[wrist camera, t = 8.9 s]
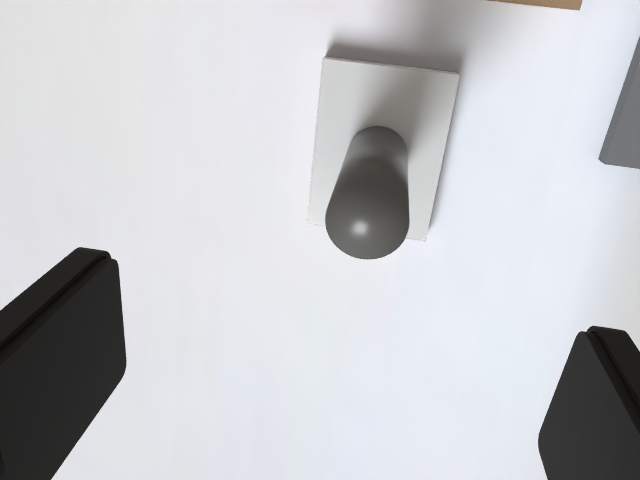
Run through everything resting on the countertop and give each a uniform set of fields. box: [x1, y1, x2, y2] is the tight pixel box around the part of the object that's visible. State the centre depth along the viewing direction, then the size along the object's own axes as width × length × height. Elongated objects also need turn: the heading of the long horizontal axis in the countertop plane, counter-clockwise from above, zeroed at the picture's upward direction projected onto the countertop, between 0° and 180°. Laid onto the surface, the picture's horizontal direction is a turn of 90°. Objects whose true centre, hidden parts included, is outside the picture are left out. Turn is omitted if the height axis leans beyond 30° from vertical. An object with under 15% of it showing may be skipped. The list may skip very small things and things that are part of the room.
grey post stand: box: [307, 56, 460, 259], centre depth 22 cm, size 8×6×9 cm
